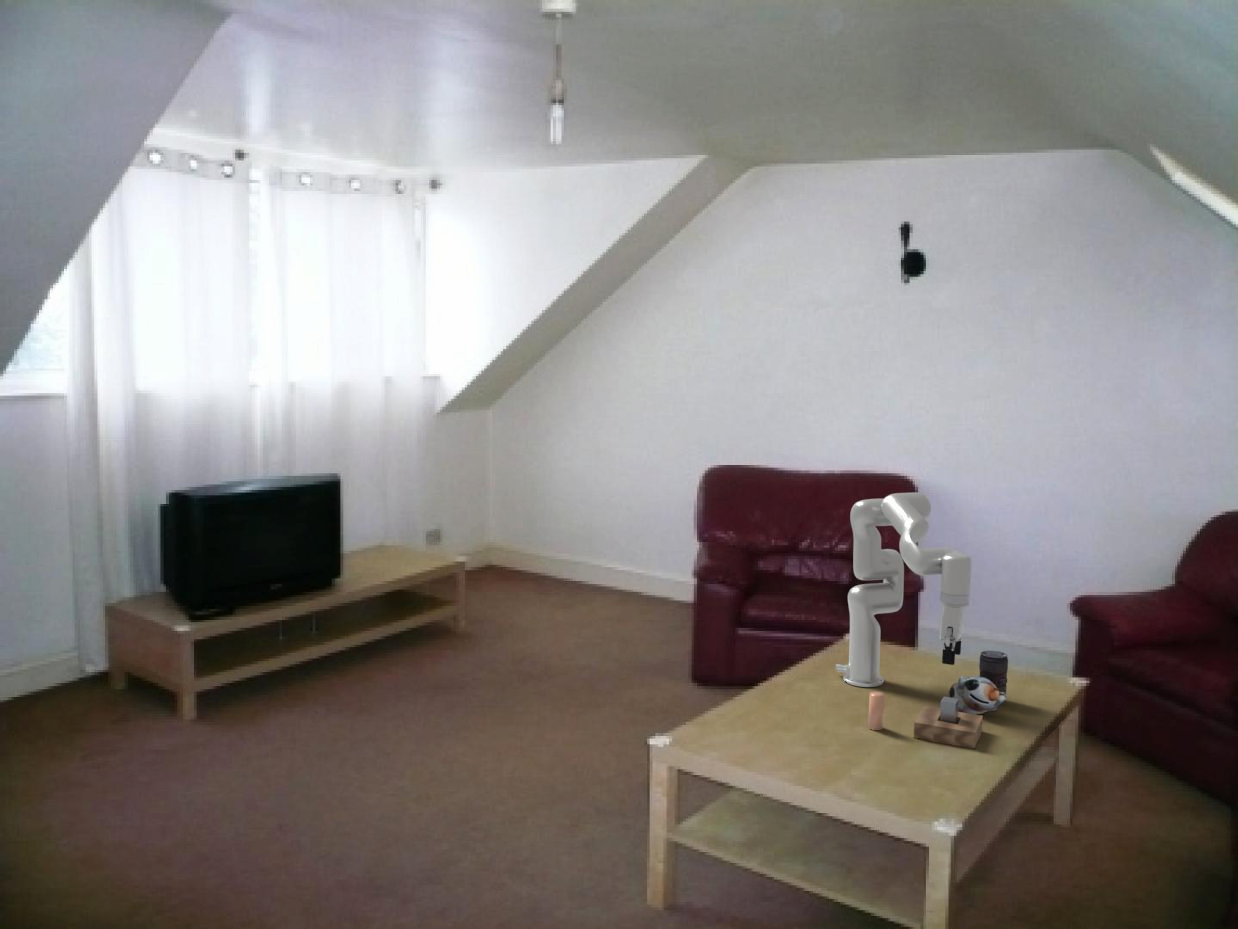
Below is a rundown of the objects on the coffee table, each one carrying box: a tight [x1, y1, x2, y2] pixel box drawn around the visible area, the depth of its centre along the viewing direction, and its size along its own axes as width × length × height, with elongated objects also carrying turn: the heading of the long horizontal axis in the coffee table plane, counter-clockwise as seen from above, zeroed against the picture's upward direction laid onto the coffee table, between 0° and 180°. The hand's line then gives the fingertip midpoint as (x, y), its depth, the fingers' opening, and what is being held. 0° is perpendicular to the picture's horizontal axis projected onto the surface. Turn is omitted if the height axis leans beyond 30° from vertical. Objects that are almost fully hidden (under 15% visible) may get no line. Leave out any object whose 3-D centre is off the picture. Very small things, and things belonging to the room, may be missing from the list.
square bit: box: [939, 696, 959, 724], centre depth 286 cm, size 4×4×10 cm
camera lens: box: [978, 650, 1009, 706], centre depth 312 cm, size 8×8×15 cm
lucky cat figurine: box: [948, 675, 1008, 715], centre depth 303 cm, size 15×12×14 cm
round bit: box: [867, 691, 885, 731], centre depth 290 cm, size 4×4×10 cm
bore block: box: [913, 705, 984, 749], centre depth 286 cm, size 16×14×4 cm
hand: (951, 658), depth 284 cm, fingers open, 9 cm apart
